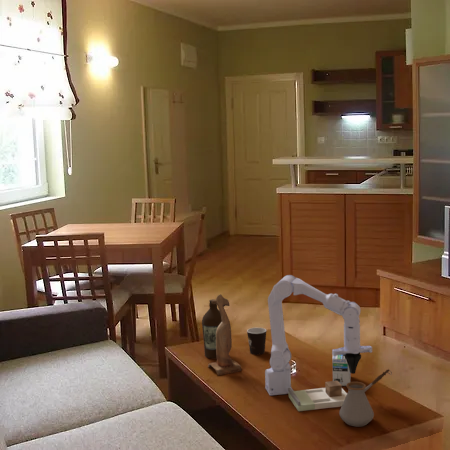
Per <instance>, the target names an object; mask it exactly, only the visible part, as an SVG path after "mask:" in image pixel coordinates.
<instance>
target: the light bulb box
mask: <svg viewBox="0 0 450 450" xmlns="http://www.w3.org/2000/svg"><path fill="white" fill-rule="evenodd" d="M331 359H332V381H338V382H339V383H340V384H341V385H342V387H347V386H346V385H347V384H348V383H350V382H351V380H352V379H351V375H352V374H351V373H350V370H349V366H348V363H347V360H346V358H345V356H344V355H337V356H333V355H332V358H331Z"/></svg>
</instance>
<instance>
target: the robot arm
mask: <svg viewBox="0 0 450 450" xmlns="http://www.w3.org/2000/svg"><path fill="white" fill-rule="evenodd" d="M292 293H293V296H298V295H304V296H307V297H309V298H311V299H313V300H316V301H318V302H320V303H322V305H323V307H324V308H325V309H327V310H328V311H331V312H332V313H335V314H337V315H339V316H342V317H341V318H342V319H343V323H344V324H343V347H338V348H333V349H331V351H332V352H331V355H332V357H333V356H337V355H344V356H345V358H346V360H347V363H348V366H349V370H350V373H351V375H352V374H354V375H355V374H356V372H357V367H358V365H359V362H360V360H361V359H362V354H363V353H373V346H371V345H361V325H360V322H361V321H360V315H361V311H362V310H361V309H362V308H361V307H360V305H358V303H356V302H355V301H350V300H348V299H347V300H346V299H344V298H342V297H340V296H339V294H338V293H328V294H327V293H325V292H323V291H321V290H319V289H317V288H315V287H314V286H312V285H311V284H309V283H308V282H305V281H304V280H302V279H301V278H298V277H296V276H294V275H292V274H287V275H285V276H283V277H282V278H281V279H280V280H279V281H278V282H277V283H275V284H274V285H273V287H272V290H271V291H270V294H269V295H268V297H267V305H268V306H267V307H268V315H269V324H270V333H271V345H272V346H271V349H270V350H271V351H270V359H269V365H270V368H267V369H265V371H264V376H265V377H264V381H265V383H264V384H265V387H264V389H265V390H266V391H267V393H268V395H269V396H277V395H287V394H288V395H289V393H288V388H291V389H292V391H294V389H293V388H292V383H291V377H292V375H291V373H292V372H291V364H290V361H291V360H292V353H291V351H290V349H289V344H288V343H287V341H286V340H287V339H286V330H285V321H284V312H283V303H282V302H283V301H284V299H286V298H288V297H289V296H291V295H292Z"/></svg>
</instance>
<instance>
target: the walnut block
mask: <svg viewBox="0 0 450 450" xmlns="http://www.w3.org/2000/svg"><path fill="white" fill-rule="evenodd" d="M324 388H326V393H327V395H328V396H329V397H336V396H342V389H343V386H342V385H341V384H340V383H339V382H338V381H333V380H331V381H325V387H324Z"/></svg>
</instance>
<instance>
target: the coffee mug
mask: <svg viewBox="0 0 450 450" xmlns="http://www.w3.org/2000/svg"><path fill="white" fill-rule="evenodd" d="M246 333H247V339H248V340H247V341H248V346H249V347H248V348H249V352H250V354H252V355H256V356H258V355H264V354H265V353H266V341H267V339H266V338H267V329H266V328H264V327H251V328H248V329H247V330H246Z"/></svg>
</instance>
